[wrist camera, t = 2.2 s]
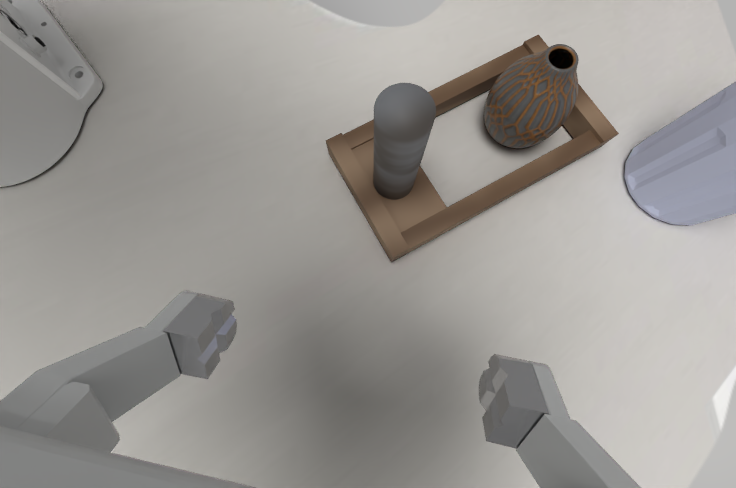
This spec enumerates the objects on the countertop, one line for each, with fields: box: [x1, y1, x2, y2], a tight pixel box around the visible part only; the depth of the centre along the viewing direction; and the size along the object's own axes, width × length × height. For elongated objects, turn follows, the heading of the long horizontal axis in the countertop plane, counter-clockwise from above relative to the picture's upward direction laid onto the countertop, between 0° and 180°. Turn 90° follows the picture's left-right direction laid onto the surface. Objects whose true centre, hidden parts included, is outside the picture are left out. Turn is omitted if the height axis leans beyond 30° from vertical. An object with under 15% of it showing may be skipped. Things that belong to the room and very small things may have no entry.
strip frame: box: [326, 35, 619, 262], centre depth 25 cm, size 12×23×12 cm, turn 119°
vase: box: [484, 44, 578, 148], centre depth 27 cm, size 7×7×9 cm
